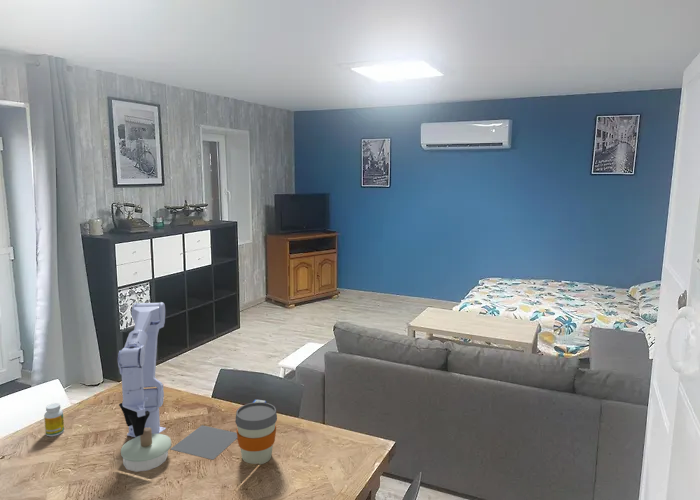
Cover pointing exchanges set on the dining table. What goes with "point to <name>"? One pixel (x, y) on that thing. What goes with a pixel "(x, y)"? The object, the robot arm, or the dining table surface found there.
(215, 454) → the mat
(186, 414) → the dining table surface
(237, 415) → the reusable coffee cup
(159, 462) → the bowl
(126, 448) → the lid
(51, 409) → the supplement bottle
